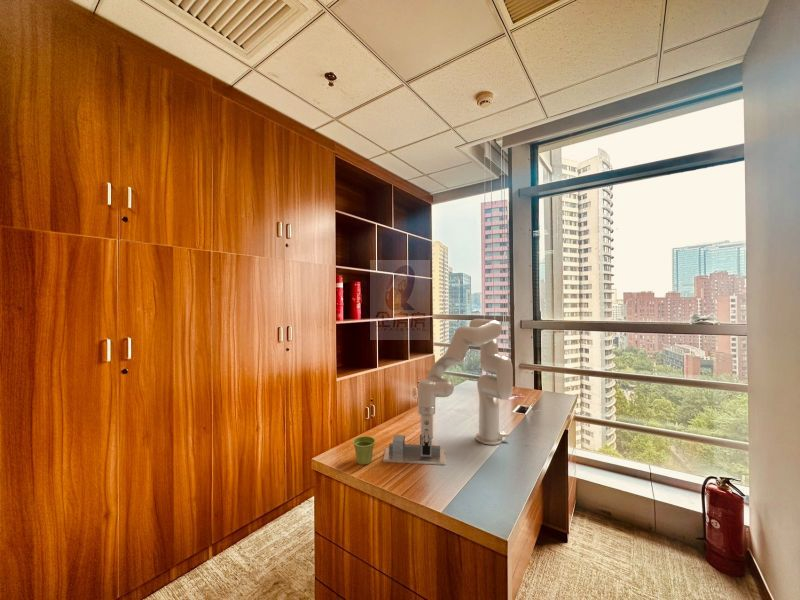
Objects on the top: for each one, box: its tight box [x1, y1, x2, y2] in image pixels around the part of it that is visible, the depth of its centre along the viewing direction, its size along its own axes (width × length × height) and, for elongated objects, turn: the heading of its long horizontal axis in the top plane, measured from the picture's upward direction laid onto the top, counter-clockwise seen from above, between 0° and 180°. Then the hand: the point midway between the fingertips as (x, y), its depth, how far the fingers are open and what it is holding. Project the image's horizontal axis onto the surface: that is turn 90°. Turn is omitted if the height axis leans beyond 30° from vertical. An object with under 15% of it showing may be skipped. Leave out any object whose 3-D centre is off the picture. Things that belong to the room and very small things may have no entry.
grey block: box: [419, 433, 433, 457], centre depth 136 cm, size 5×6×7 cm
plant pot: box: [352, 435, 376, 466], centre depth 132 cm, size 9×9×9 cm
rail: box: [382, 434, 446, 466], centre depth 137 cm, size 26×11×8 cm, turn 86°
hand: (426, 450), depth 136 cm, fingers closed on grey block, 6 cm apart
